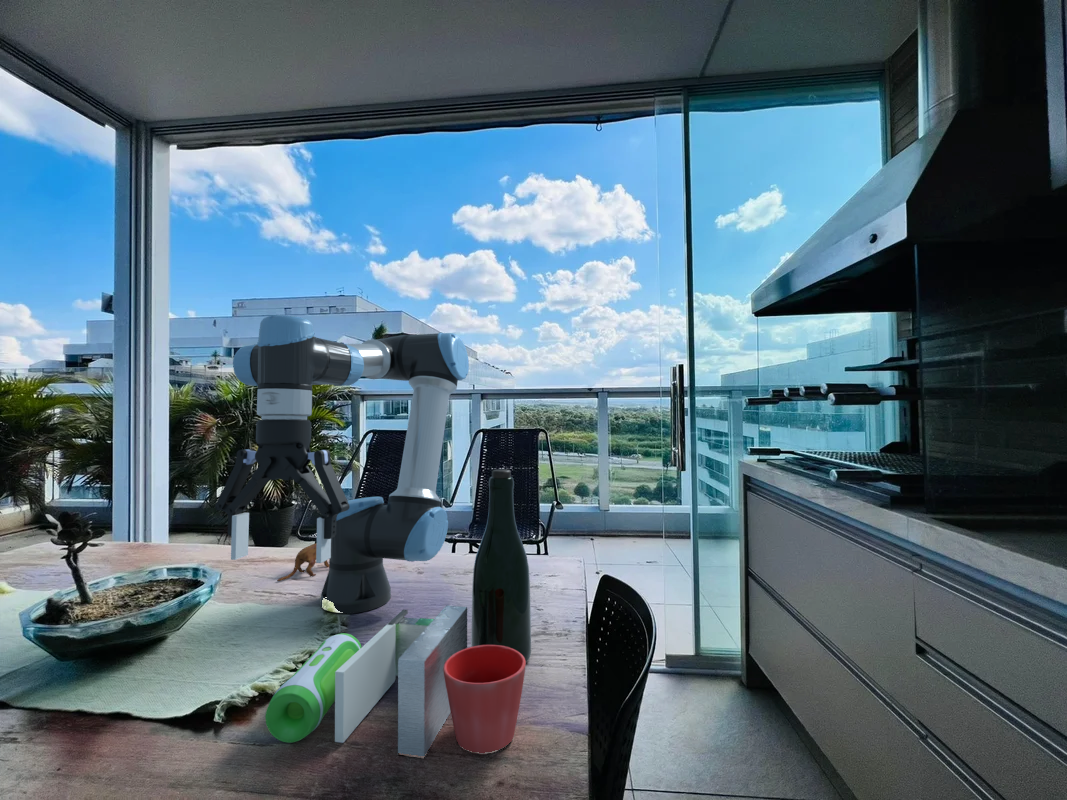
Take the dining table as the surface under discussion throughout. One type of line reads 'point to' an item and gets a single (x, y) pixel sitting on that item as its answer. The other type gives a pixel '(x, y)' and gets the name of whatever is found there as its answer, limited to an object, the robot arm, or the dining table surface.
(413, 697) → the frame
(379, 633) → the plate
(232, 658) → the dining table surface
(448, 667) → the flower pot
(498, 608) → the beer bottle
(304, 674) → the speaker
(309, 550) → the cat figurine
